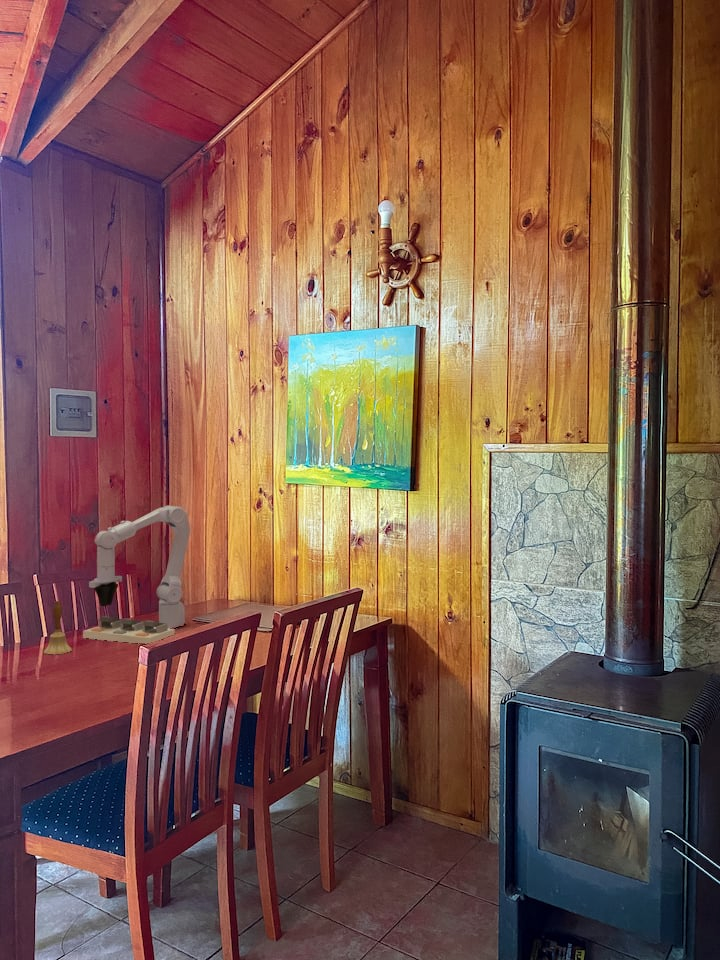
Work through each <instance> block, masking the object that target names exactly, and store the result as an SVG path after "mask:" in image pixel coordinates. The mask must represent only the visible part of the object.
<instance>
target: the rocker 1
mask: <svg viewBox="0 0 720 960" xmlns="http://www.w3.org/2000/svg"><path fill="white" fill-rule="evenodd" d="M121 619H122V618H116V617H112V616H104V615H103V616H101V615H100V616H99V620H98V622H99V621H102V622H110V623H112V622H115V621H118V620H121Z"/></svg>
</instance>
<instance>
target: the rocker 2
mask: <svg viewBox="0 0 720 960" xmlns="http://www.w3.org/2000/svg"><path fill="white" fill-rule="evenodd" d="M142 621H143V626H150V627H157V626H160V625H163V624H166V623H159V621H154V620H142Z"/></svg>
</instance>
